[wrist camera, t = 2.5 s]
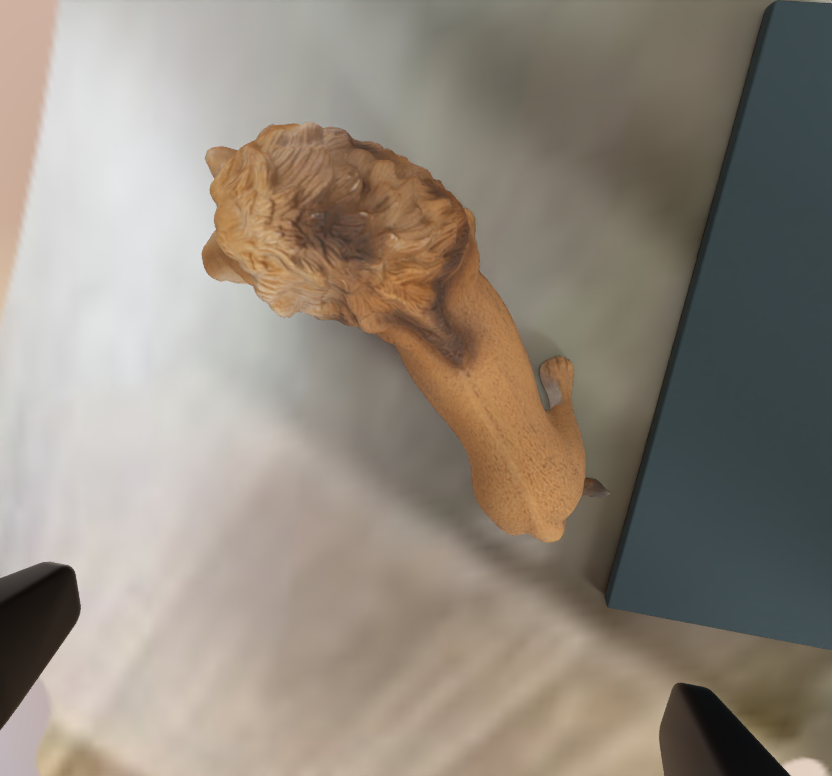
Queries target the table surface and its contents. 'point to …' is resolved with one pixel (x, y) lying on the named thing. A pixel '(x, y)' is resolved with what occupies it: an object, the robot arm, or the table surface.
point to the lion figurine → (403, 302)
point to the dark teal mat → (750, 374)
